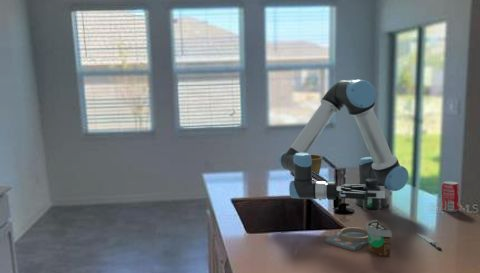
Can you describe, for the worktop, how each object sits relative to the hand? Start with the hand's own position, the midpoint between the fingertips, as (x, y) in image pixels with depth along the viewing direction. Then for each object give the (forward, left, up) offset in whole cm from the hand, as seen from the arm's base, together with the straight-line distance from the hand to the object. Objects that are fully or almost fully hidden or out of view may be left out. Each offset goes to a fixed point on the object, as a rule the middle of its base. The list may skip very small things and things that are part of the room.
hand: (384, 192), depth 170 cm
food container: (+9, -23, -16) cm, 29 cm away
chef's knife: (+18, 0, -16) cm, 24 cm away
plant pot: (-70, +42, -16) cm, 83 cm away
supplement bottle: (-4, -2, -7) cm, 9 cm away
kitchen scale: (-4, -18, -16) cm, 24 cm away
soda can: (+10, +42, -16) cm, 46 cm away
